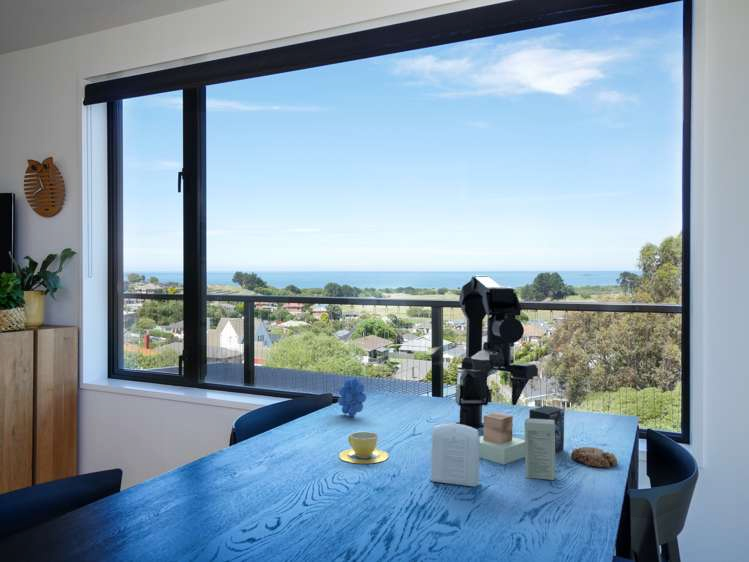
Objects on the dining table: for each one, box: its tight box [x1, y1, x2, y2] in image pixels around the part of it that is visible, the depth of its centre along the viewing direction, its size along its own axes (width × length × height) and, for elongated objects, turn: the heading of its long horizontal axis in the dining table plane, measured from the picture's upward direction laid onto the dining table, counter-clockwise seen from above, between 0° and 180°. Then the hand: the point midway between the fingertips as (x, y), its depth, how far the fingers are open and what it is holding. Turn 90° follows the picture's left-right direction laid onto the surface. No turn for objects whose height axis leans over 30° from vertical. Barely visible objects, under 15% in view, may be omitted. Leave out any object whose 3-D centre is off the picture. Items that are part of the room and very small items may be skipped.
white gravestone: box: [430, 423, 480, 488], centre depth 127 cm, size 10×4×12 cm, turn 72°
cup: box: [338, 431, 389, 465], centre depth 144 cm, size 12×12×5 cm
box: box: [528, 405, 566, 454], centre depth 151 cm, size 8×6×11 cm
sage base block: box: [479, 435, 525, 465], centre depth 147 cm, size 10×10×4 cm
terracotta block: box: [482, 411, 514, 444], centre depth 147 cm, size 5×5×6 cm
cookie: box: [570, 446, 618, 469], centre depth 143 cm, size 10×11×3 cm
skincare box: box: [524, 417, 556, 481], centre depth 132 cm, size 6×4×12 cm
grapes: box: [337, 377, 367, 417], centre depth 185 cm, size 12×7×12 cm, turn 45°
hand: (497, 401), depth 147 cm, fingers open, 9 cm apart
